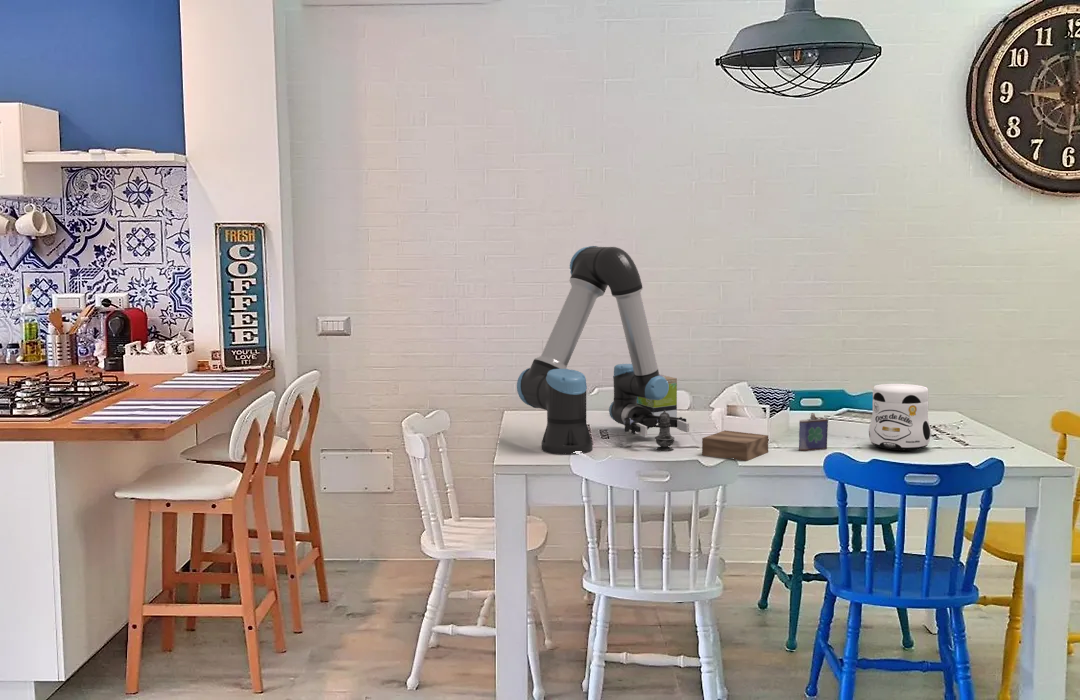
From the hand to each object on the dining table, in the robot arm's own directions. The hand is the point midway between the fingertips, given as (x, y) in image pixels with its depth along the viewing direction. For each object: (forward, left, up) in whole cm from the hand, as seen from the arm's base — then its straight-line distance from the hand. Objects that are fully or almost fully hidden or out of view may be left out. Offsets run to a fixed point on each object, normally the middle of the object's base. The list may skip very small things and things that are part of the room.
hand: (667, 429), depth 327 cm
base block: (+5, -20, -6) cm, 21 cm away
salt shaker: (-1, 0, -6) cm, 6 cm away
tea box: (+42, +30, -6) cm, 52 cm away
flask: (+23, -36, -6) cm, 43 cm away
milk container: (+39, -56, -6) cm, 68 cm away
